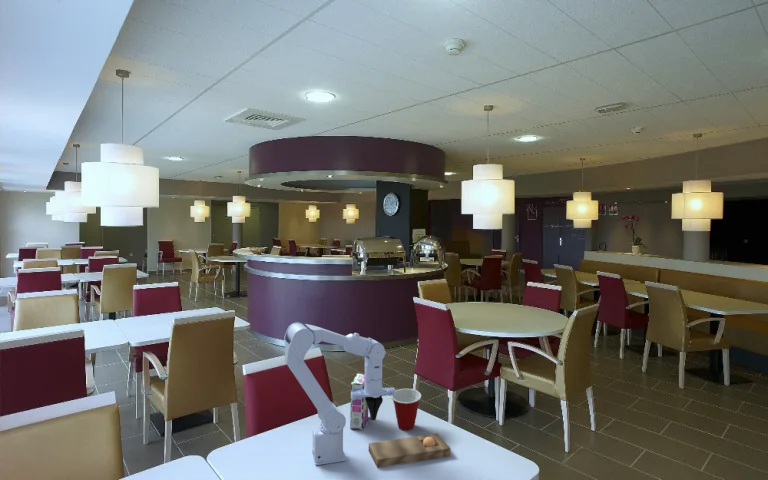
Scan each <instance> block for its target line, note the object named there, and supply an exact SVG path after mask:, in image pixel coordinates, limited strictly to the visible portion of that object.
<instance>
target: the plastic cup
mask: <svg viewBox="0 0 768 480" xmlns="http://www.w3.org/2000/svg"><path fill="white" fill-rule="evenodd" d="M390 396H391V399H392V401H393V404H394V412H395V416H396V417H395V418H396V422H397V423H396V424H397V426H398V428H399V429H400V430H402V431H412V430H414V428H415V425H416V420H417V416H418V409H419V404H420V400H421V398H422V394H421V392H419V390H416V389H414V388H400V389H395V395H394V396H392V395H390Z"/></svg>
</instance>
